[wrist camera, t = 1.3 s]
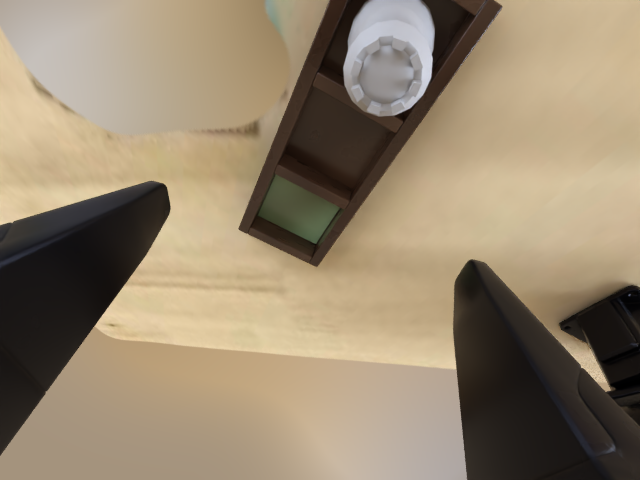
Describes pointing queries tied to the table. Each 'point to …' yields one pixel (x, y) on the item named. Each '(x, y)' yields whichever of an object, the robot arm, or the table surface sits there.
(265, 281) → the table surface
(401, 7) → the rook chess piece
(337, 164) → the tray
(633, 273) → the table surface
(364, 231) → the table surface
